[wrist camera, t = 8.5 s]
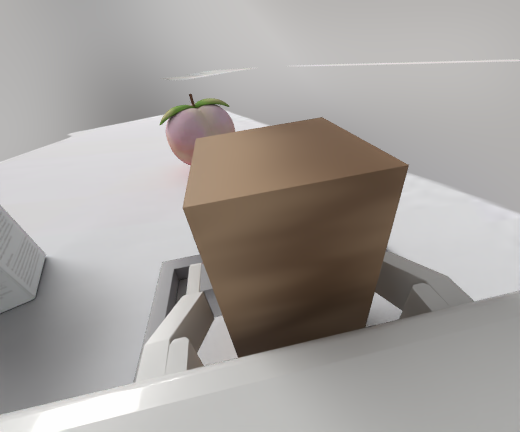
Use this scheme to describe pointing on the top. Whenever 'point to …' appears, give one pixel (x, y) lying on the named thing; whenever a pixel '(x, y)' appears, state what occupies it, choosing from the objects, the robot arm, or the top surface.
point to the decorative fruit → (195, 125)
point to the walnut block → (292, 229)
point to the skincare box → (17, 264)
